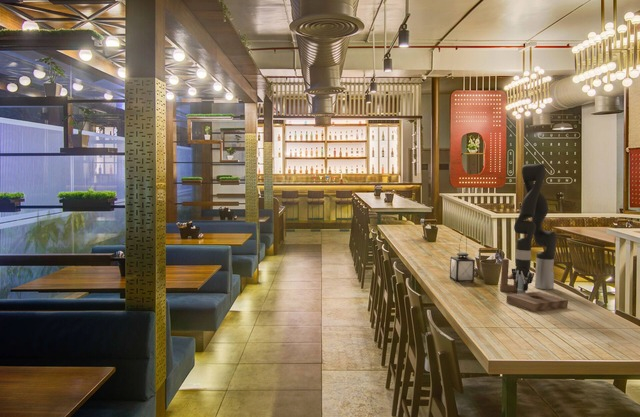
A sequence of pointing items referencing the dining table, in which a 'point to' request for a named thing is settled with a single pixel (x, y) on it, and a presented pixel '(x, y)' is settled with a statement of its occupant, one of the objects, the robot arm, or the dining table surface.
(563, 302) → the socket block
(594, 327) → the dining table surface
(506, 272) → the brown wedge-headed part
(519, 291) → the peg
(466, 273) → the lantern
